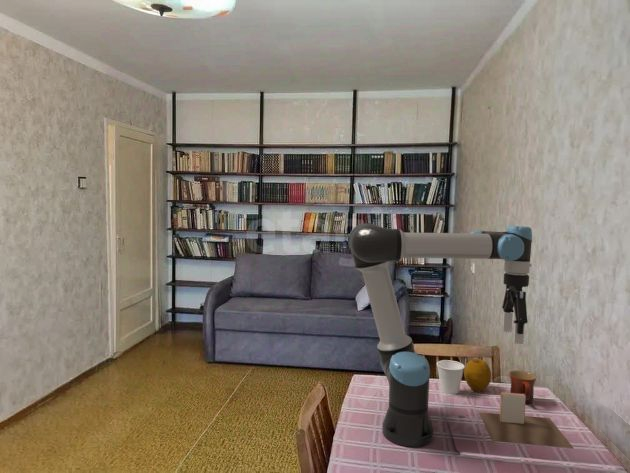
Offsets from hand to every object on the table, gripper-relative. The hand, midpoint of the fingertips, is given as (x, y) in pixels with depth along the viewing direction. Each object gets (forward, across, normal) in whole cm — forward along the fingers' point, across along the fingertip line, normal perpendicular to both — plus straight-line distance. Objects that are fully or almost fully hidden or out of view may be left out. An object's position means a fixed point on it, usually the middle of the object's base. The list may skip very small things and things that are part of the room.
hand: (512, 337), depth 144 cm
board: (+26, -12, -1) cm, 29 cm away
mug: (+26, +8, -7) cm, 29 cm away
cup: (+27, +13, +17) cm, 34 cm away
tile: (+25, -8, +1) cm, 26 cm away
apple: (+26, +19, +6) cm, 33 cm away
